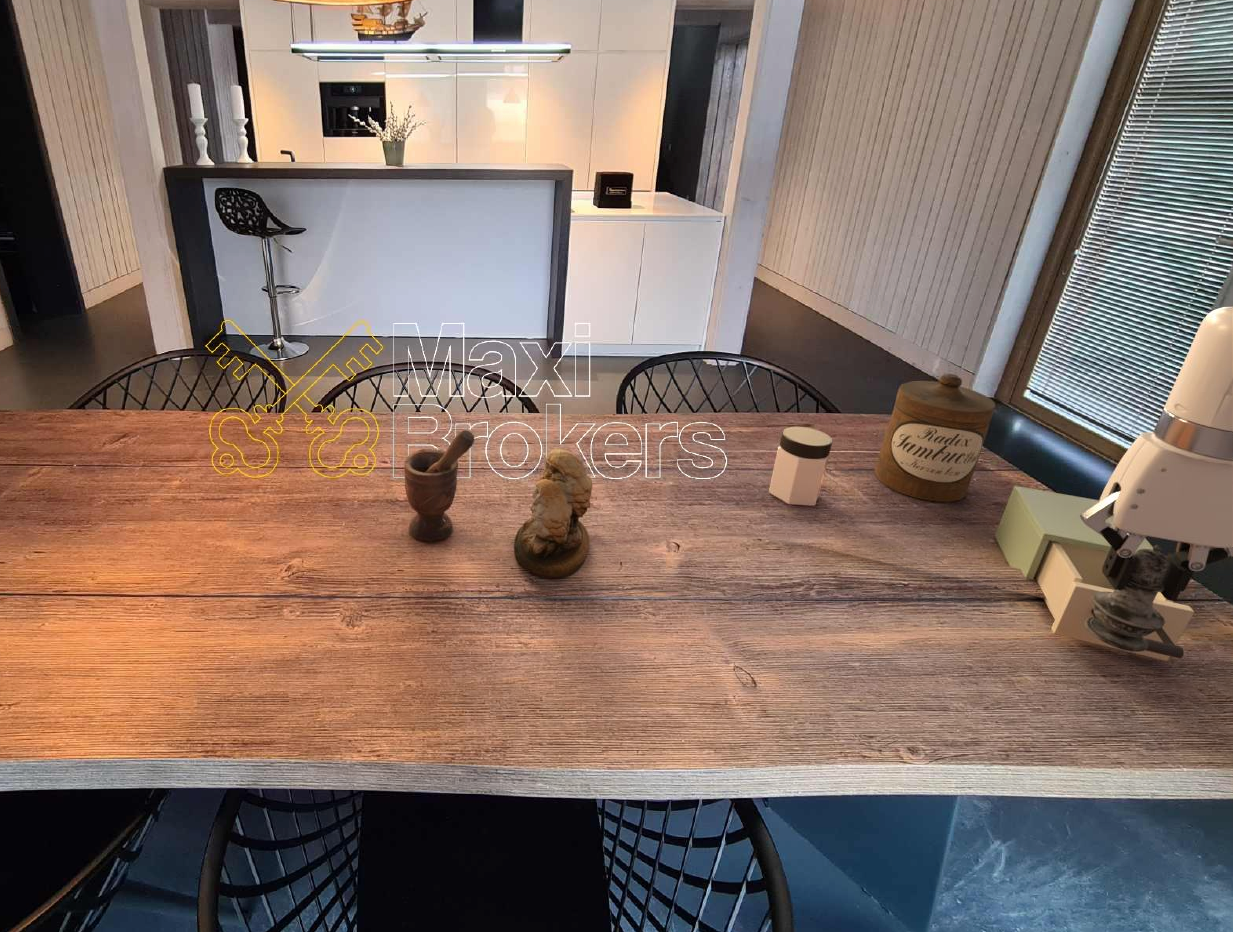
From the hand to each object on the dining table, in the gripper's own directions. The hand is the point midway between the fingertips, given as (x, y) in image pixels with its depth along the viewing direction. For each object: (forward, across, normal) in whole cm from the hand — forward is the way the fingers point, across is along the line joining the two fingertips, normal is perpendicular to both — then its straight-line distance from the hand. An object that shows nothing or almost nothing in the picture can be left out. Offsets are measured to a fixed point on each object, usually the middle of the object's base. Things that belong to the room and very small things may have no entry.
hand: (1138, 586), depth 72 cm
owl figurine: (+17, +67, -5) cm, 69 cm away
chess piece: (+7, 0, 0) cm, 7 cm away
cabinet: (+18, -6, -31) cm, 36 cm away
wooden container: (+18, +9, -54) cm, 57 cm away
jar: (+18, +31, -39) cm, 52 cm away
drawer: (+17, -6, -16) cm, 24 cm away
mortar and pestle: (+16, +85, -1) cm, 86 cm away
